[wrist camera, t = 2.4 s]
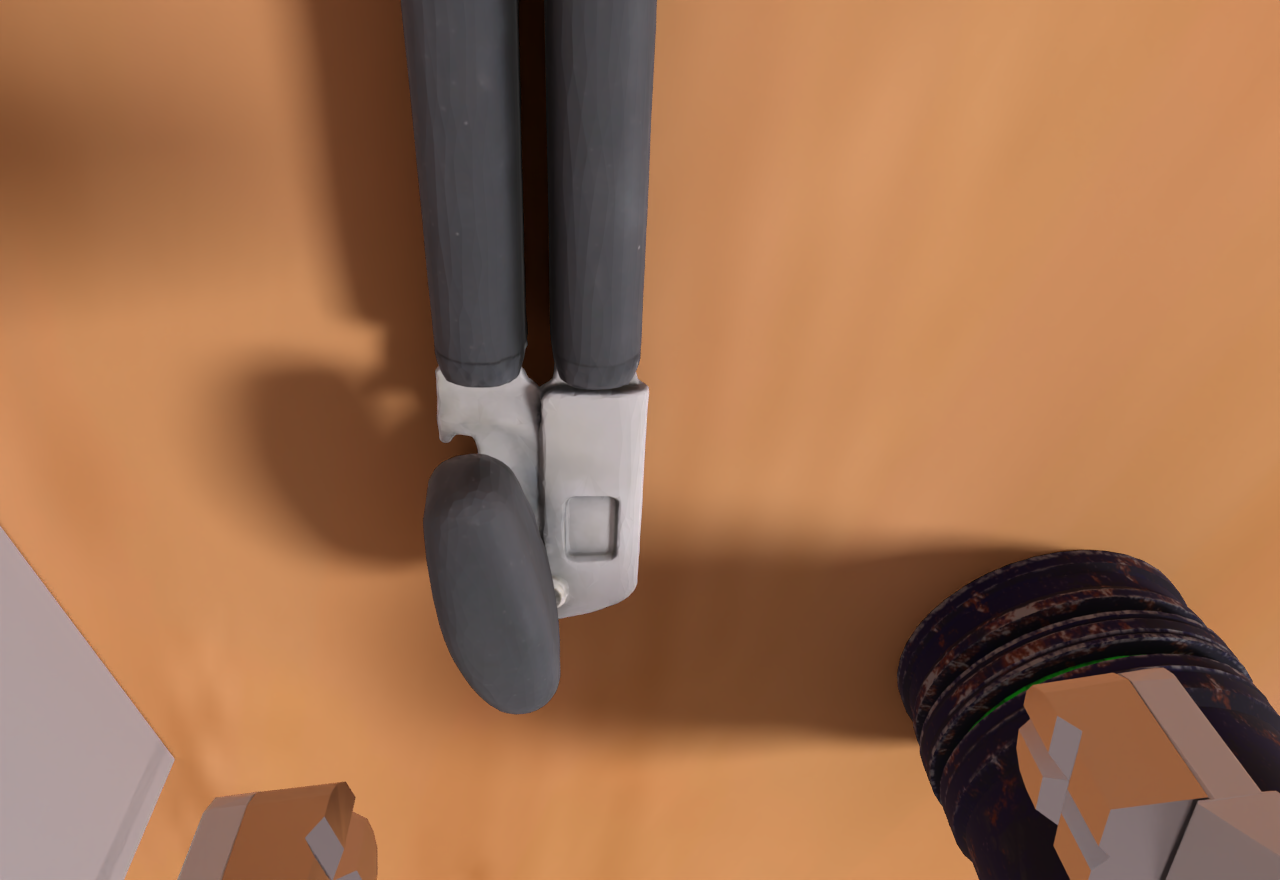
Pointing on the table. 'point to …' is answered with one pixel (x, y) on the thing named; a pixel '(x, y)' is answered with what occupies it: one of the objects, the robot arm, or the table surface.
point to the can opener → (497, 328)
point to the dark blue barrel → (1048, 652)
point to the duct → (66, 744)
